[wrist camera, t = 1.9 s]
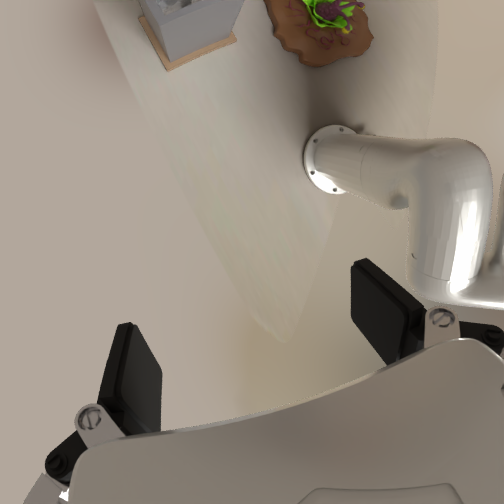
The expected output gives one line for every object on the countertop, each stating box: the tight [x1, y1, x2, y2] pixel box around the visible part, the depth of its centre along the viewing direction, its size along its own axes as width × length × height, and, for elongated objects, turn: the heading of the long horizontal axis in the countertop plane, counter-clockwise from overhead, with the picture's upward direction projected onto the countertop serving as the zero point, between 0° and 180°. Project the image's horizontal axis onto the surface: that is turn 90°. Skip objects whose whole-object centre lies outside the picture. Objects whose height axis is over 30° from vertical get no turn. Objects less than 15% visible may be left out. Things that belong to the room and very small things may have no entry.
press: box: [138, 0, 244, 72], centre depth 25 cm, size 12×12×17 cm
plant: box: [264, 0, 374, 67], centre depth 30 cm, size 20×20×11 cm
